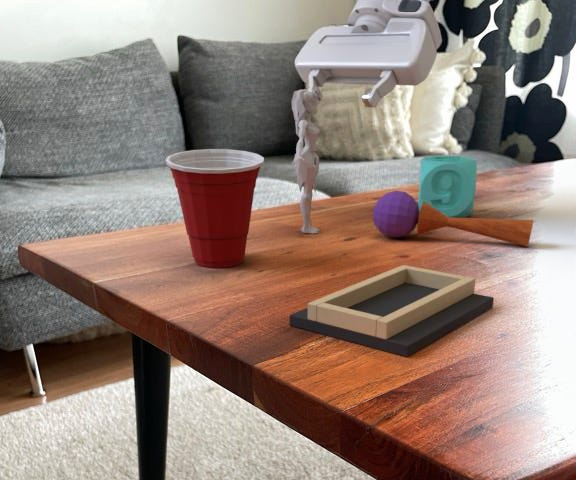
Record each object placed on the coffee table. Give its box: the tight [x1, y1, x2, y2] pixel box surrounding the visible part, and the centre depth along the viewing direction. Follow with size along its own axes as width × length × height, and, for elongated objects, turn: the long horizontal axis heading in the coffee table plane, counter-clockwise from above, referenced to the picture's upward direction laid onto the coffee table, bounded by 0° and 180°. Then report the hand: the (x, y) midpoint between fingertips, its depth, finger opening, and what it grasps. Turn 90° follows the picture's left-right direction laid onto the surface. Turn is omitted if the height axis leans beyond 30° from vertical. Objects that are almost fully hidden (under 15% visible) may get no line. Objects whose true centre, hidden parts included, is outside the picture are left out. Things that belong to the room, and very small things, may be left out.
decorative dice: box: [417, 155, 478, 218], centre depth 108 cm, size 8×8×8 cm
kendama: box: [372, 190, 534, 248], centre depth 92 cm, size 6×6×20 cm
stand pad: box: [289, 264, 495, 358], centre depth 66 cm, size 12×16×2 cm
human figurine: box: [290, 88, 321, 235], centre depth 95 cm, size 12×4×18 cm, turn 168°
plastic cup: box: [164, 148, 265, 268], centre depth 81 cm, size 11×11×12 cm
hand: (338, 102), depth 97 cm, fingers open, 8 cm apart
